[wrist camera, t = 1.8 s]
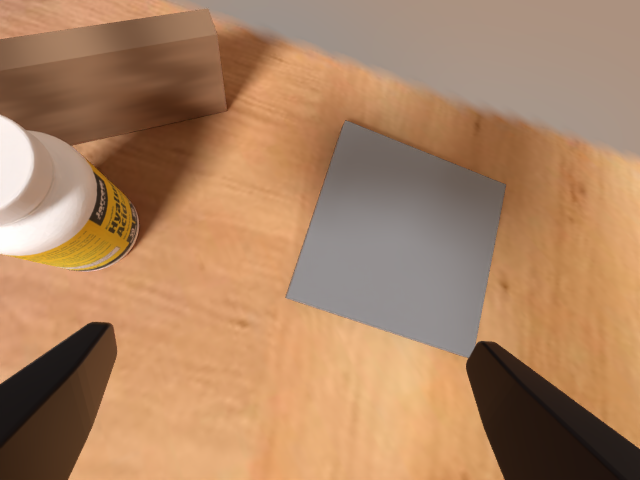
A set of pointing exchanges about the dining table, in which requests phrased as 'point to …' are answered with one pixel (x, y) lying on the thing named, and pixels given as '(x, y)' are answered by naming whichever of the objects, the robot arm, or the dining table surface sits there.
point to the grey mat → (400, 241)
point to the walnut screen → (113, 76)
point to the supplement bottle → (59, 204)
